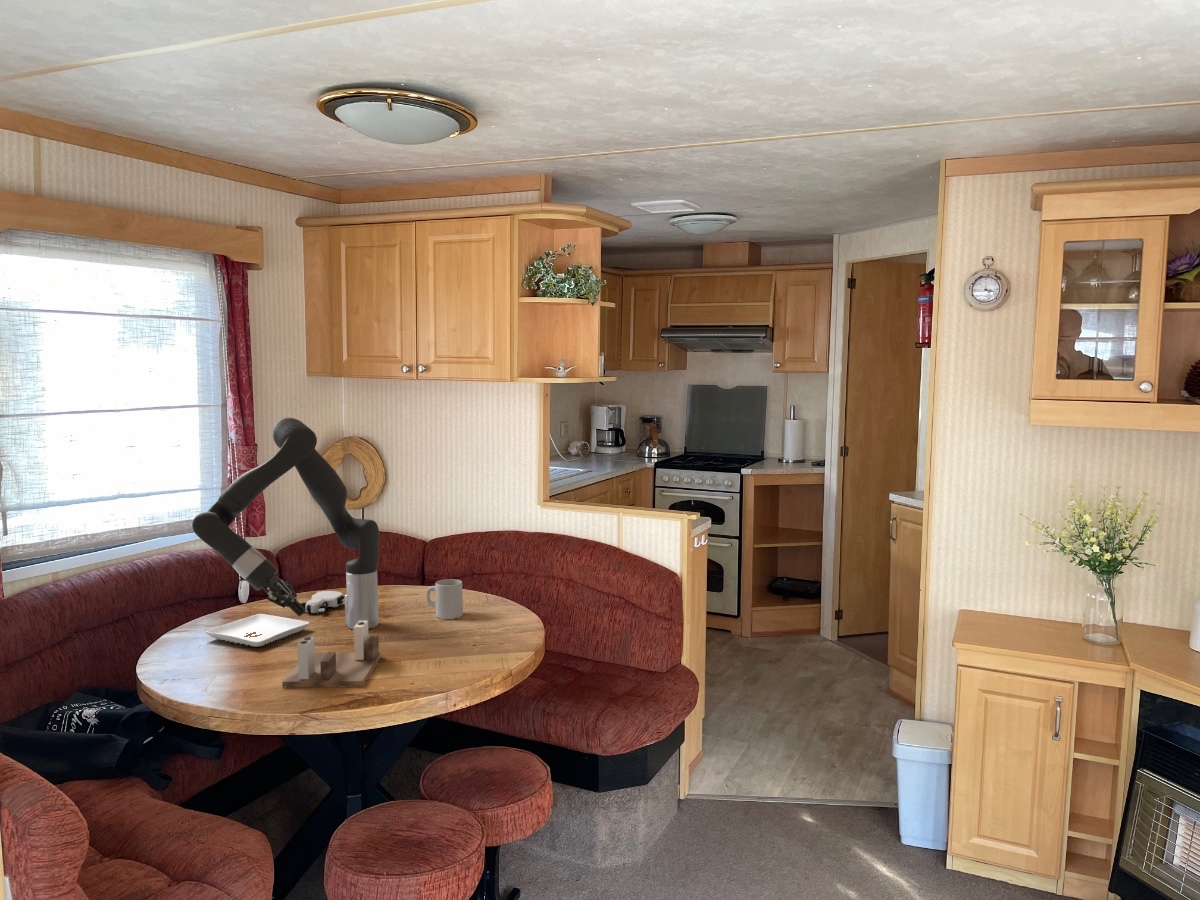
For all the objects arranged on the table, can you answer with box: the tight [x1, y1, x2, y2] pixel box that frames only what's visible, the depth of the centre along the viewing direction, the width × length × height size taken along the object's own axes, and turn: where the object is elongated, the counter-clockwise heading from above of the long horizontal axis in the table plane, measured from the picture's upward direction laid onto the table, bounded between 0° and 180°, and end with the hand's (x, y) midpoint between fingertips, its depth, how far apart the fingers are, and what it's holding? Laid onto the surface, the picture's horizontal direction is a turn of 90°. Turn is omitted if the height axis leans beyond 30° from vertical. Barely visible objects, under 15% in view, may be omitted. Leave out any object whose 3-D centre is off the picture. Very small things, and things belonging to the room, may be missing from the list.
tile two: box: [297, 636, 316, 679], centre depth 228 cm, size 2×6×9 cm, turn 2°
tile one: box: [353, 621, 369, 660], centre depth 242 cm, size 2×6×9 cm, turn 2°
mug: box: [425, 578, 464, 620], centre depth 285 cm, size 12×8×11 cm
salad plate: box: [205, 613, 310, 648], centre depth 265 cm, size 21×21×3 cm
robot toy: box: [299, 590, 345, 614], centre depth 293 cm, size 12×4×15 cm
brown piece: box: [281, 634, 382, 688], centre depth 235 cm, size 20×22×6 cm
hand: (303, 613), depth 239 cm, fingers closed
